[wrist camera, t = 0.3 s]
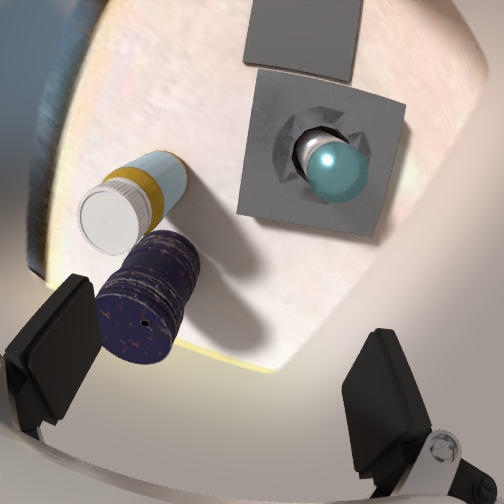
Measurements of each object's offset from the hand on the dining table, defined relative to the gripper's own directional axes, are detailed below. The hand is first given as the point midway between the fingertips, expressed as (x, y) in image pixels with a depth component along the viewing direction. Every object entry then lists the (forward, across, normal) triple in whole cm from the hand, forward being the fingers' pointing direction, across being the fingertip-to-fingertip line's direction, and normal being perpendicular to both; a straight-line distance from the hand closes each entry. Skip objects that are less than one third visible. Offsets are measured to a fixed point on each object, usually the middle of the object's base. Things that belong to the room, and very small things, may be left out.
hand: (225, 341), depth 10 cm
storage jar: (+29, +10, +15) cm, 34 cm away
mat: (+28, -2, -18) cm, 34 cm away
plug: (+29, -6, -3) cm, 30 cm away
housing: (+29, -6, -3) cm, 30 cm away
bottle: (+29, +11, +3) cm, 31 cm away
